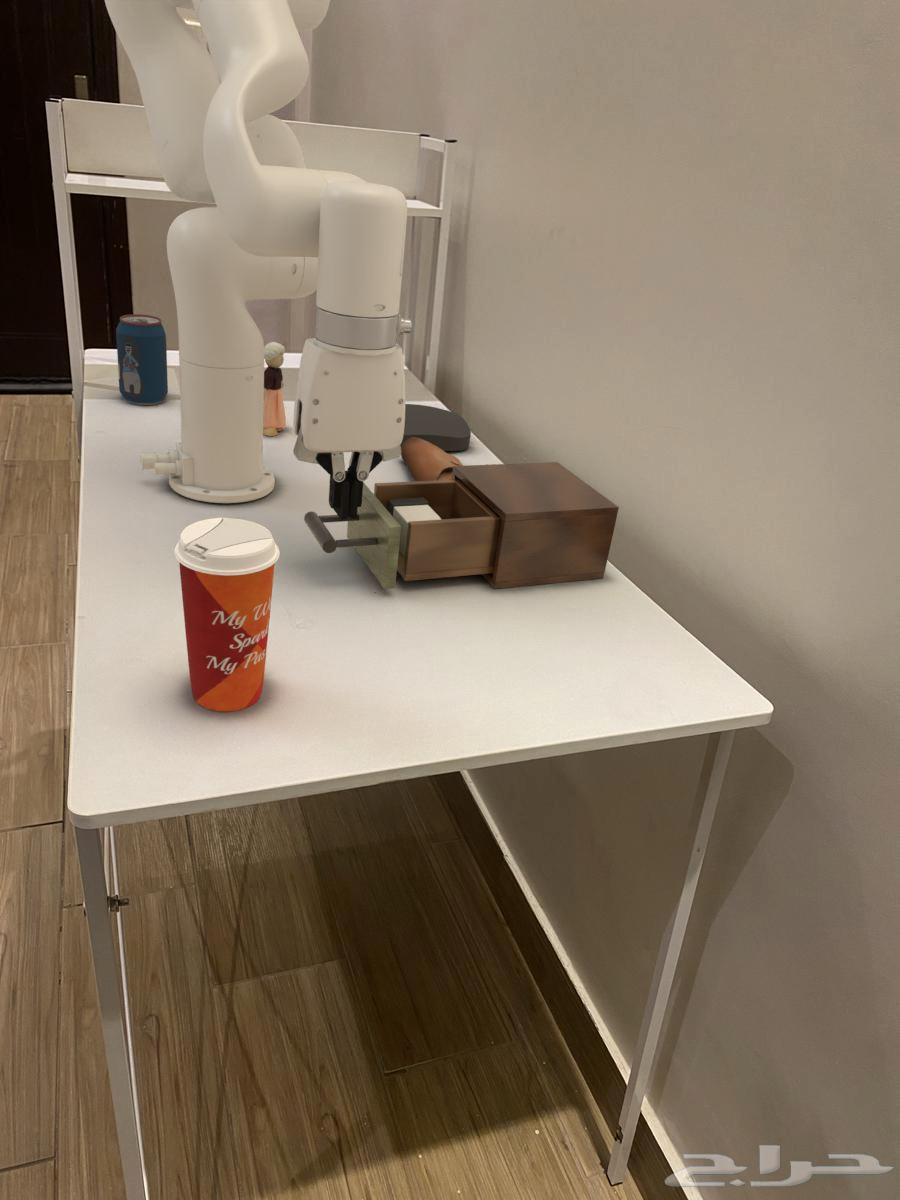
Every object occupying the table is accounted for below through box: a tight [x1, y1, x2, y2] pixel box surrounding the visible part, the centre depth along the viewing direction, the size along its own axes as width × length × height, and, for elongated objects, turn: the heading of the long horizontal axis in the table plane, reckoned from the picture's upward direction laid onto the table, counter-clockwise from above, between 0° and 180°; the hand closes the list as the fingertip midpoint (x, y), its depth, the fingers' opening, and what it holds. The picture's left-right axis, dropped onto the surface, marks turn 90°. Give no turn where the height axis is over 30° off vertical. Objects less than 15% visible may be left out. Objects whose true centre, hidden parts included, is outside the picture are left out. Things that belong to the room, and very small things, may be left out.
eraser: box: [387, 497, 442, 558], centre depth 97 cm, size 8×4×4 cm, turn 23°
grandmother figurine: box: [263, 341, 287, 437], centre depth 129 cm, size 8×4×13 cm, turn 179°
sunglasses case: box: [400, 437, 464, 481], centre depth 120 cm, size 18×7×7 cm
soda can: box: [115, 313, 169, 406], centre depth 135 cm, size 7×7×12 cm
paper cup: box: [173, 517, 281, 712], centre depth 71 cm, size 8×8×14 cm
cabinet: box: [452, 461, 620, 590], centre depth 102 cm, size 14×14×9 cm
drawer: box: [303, 479, 501, 590], centre depth 96 cm, size 18×12×7 cm
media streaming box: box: [400, 403, 472, 452], centre depth 137 cm, size 15×15×3 cm
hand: (344, 513), depth 92 cm, fingers closed
